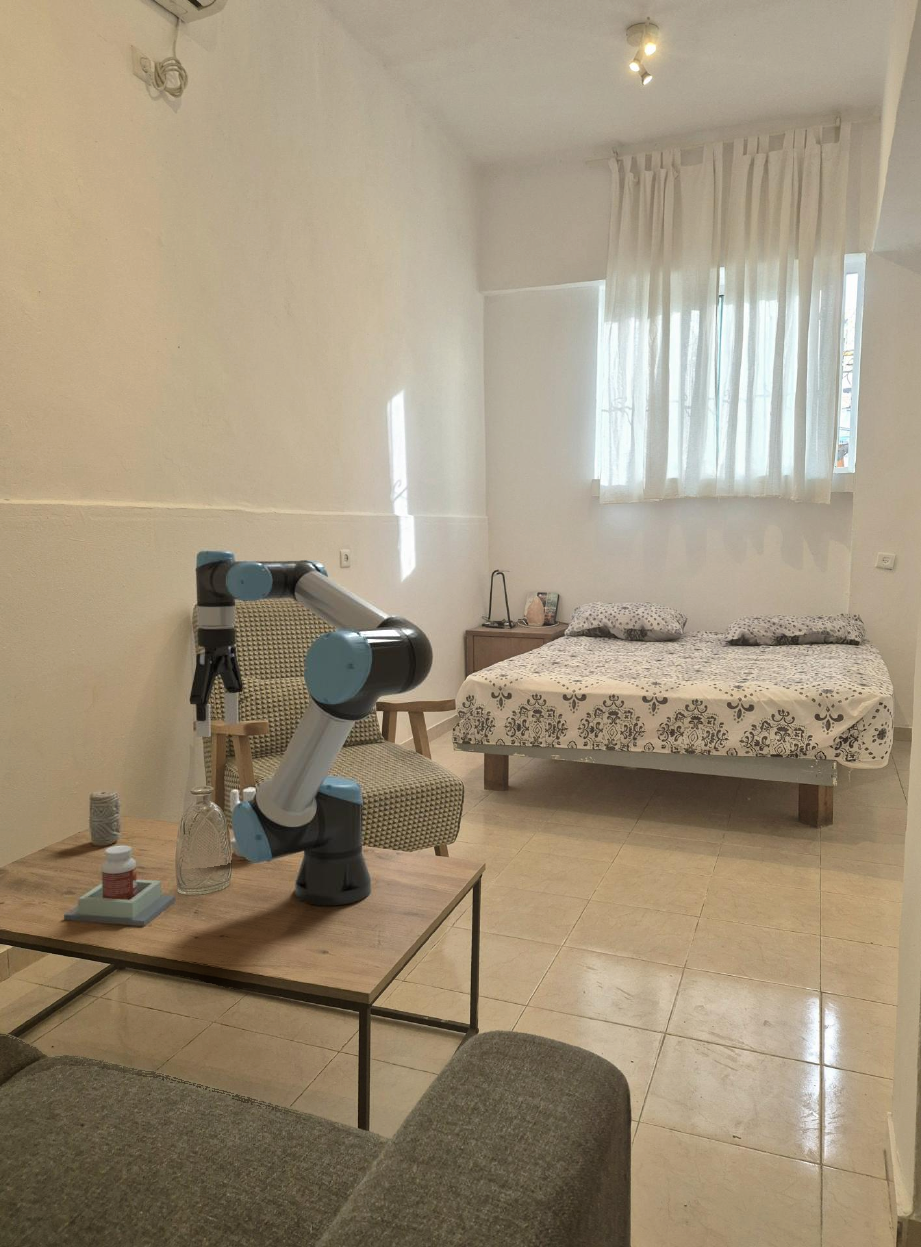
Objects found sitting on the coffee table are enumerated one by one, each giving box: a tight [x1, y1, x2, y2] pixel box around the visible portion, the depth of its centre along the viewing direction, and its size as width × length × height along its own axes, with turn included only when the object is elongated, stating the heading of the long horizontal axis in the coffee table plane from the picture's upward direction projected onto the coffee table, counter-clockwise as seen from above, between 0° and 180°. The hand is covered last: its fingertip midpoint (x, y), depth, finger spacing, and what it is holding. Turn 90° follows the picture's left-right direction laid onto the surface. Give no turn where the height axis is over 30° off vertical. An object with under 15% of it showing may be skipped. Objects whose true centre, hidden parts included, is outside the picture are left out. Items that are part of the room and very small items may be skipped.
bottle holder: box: [63, 879, 176, 927], centre depth 171 cm, size 16×12×4 cm
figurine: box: [229, 786, 257, 858], centre depth 202 cm, size 7×9×15 cm
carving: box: [88, 790, 122, 847], centre depth 209 cm, size 6×8×12 cm
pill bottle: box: [100, 845, 138, 900], centre depth 170 cm, size 6×6×11 cm
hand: (218, 729), depth 184 cm, fingers open, 13 cm apart
